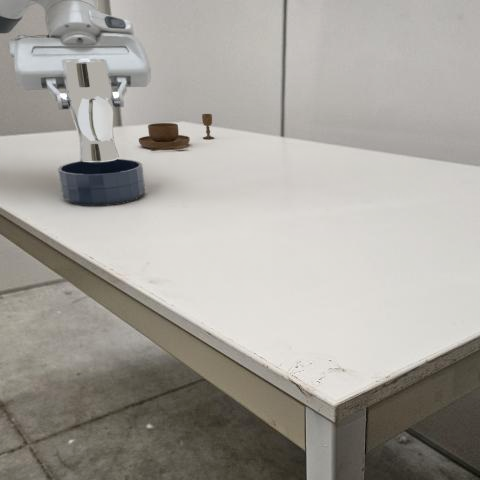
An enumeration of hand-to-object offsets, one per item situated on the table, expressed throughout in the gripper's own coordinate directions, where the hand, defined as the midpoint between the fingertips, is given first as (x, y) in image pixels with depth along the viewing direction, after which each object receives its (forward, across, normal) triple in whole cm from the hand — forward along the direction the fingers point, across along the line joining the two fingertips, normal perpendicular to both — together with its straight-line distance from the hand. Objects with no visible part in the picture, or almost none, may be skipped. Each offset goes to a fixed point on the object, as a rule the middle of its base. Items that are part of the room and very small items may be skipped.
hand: (92, 105), depth 96 cm
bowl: (+10, 0, +11) cm, 14 cm away
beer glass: (+6, 0, +6) cm, 9 cm away
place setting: (-24, +22, +44) cm, 55 cm away
